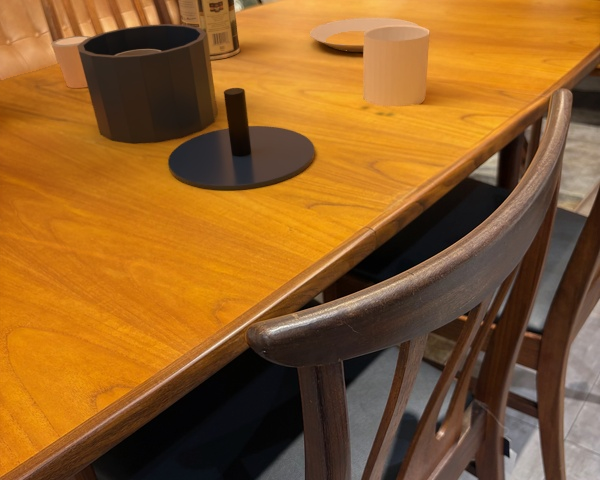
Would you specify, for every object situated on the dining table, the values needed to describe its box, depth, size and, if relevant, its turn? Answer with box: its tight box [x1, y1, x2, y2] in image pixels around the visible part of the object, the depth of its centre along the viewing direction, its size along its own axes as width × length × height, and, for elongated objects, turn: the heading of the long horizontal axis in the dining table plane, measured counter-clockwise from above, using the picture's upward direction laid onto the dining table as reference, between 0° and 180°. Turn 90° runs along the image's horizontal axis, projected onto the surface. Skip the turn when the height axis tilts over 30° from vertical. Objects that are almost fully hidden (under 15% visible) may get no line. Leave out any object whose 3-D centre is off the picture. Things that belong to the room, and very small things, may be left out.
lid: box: [167, 87, 316, 191], centre depth 73 cm, size 18×18×9 cm
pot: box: [77, 23, 219, 145], centre depth 84 cm, size 17×17×12 cm
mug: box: [362, 25, 430, 108], centre depth 89 cm, size 12×9×9 cm
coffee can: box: [177, 0, 241, 61], centre depth 113 cm, size 10×10×14 cm
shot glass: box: [50, 35, 91, 89], centre depth 104 cm, size 7×7×7 cm
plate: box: [309, 17, 420, 53], centre depth 116 cm, size 21×21×2 cm
